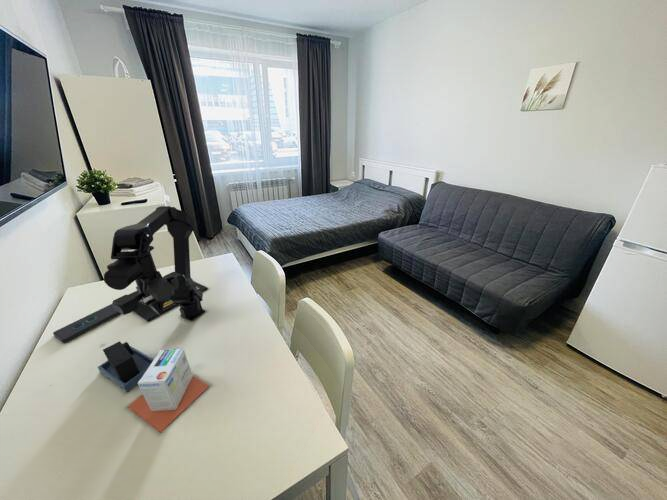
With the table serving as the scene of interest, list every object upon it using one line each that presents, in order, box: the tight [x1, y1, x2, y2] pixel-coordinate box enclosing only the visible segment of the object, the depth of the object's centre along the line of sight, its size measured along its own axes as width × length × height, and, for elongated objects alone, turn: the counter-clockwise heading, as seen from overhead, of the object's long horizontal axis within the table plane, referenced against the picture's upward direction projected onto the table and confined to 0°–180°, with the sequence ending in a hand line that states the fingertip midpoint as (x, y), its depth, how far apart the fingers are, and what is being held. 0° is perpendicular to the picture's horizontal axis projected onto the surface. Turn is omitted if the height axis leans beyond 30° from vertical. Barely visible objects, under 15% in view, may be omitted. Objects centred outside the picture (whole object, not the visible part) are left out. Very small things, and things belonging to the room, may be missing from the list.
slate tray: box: [97, 345, 154, 393], centre depth 80 cm, size 9×14×2 cm, turn 62°
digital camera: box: [102, 341, 140, 383], centre depth 78 cm, size 10×5×7 cm, turn 52°
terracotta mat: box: [127, 375, 210, 433], centre depth 72 cm, size 14×14×1 cm
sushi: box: [127, 281, 209, 322], centre depth 115 cm, size 25×25×4 cm
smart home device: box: [52, 303, 123, 344], centre depth 100 cm, size 8×2×20 cm
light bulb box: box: [137, 348, 194, 411], centre depth 71 cm, size 11×7×11 cm, turn 3°
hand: (160, 314), depth 84 cm, fingers closed
